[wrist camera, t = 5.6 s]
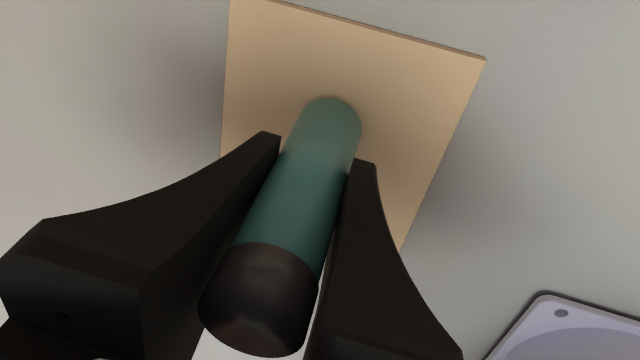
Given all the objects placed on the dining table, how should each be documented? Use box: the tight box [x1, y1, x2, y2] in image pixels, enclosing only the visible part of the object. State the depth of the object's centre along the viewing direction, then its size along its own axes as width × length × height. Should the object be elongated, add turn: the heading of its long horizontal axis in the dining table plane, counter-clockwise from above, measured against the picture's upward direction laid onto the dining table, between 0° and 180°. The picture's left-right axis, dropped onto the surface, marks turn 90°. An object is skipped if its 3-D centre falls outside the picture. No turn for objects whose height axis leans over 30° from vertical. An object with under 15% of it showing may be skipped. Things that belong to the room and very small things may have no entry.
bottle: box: [197, 98, 362, 358], centre depth 12 cm, size 2×2×8 cm
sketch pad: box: [220, 0, 486, 253], centre depth 16 cm, size 8×9×1 cm
